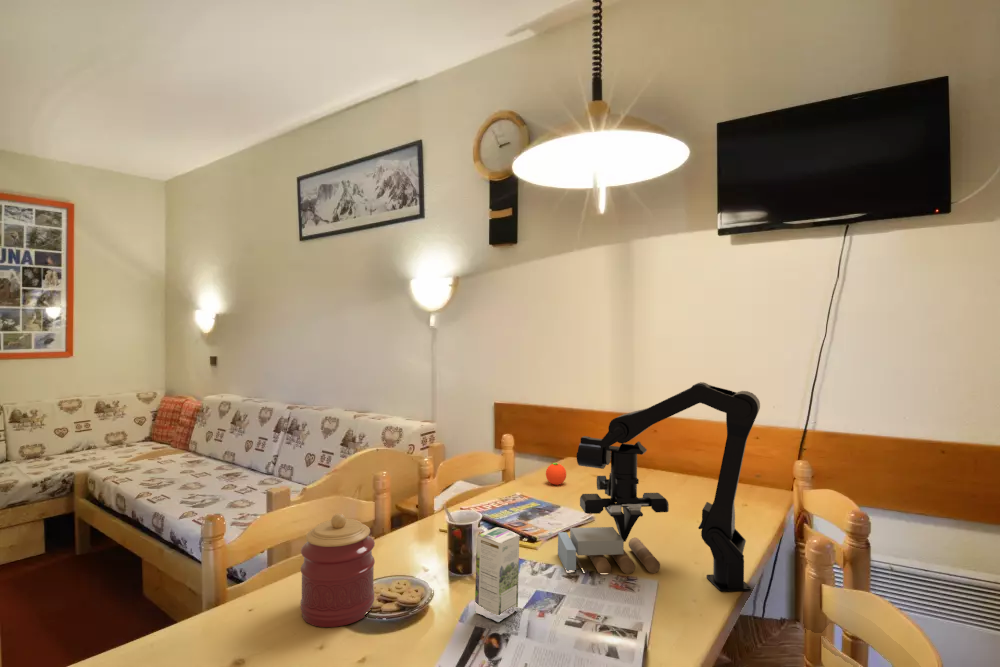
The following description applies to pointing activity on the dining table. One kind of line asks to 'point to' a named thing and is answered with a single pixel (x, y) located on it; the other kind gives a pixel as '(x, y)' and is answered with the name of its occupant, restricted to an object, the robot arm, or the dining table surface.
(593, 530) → the slab
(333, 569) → the canister
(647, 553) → the roller track
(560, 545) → the bar
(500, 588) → the syrup box
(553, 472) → the clementine
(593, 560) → the roller
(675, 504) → the dining table surface
